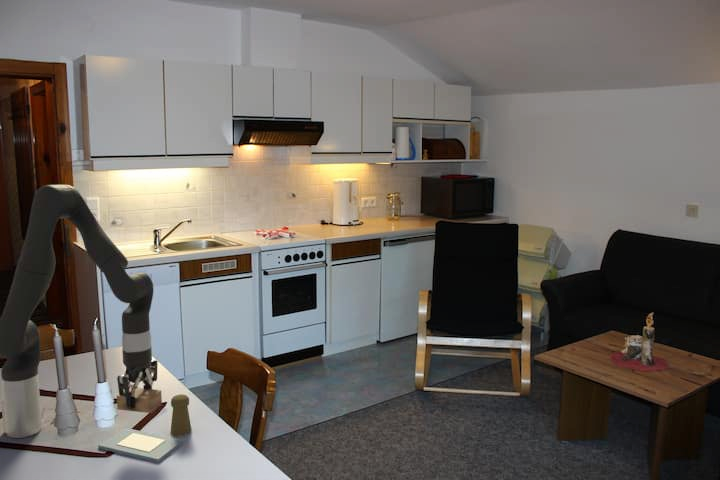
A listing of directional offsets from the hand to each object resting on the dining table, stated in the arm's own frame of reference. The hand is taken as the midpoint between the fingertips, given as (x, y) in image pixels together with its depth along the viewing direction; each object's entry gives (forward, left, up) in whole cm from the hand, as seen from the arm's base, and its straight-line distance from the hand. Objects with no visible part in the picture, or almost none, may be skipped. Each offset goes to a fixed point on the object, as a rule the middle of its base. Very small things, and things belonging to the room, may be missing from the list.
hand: (139, 403), depth 172 cm
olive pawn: (+5, +11, -13) cm, 18 cm away
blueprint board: (0, 0, -13) cm, 13 cm away
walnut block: (0, 0, -1) cm, 1 cm away
